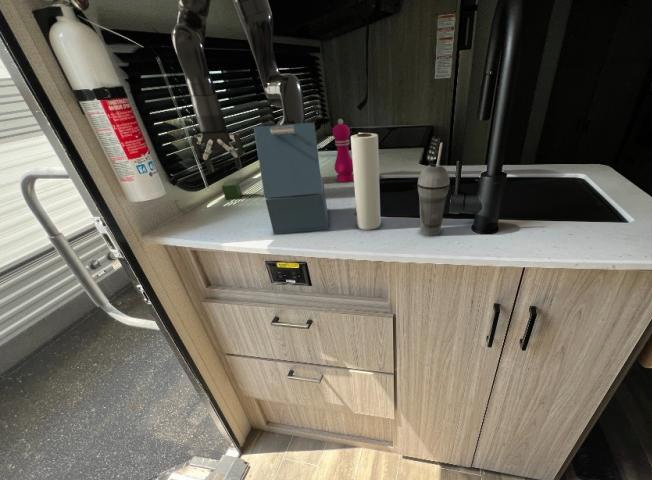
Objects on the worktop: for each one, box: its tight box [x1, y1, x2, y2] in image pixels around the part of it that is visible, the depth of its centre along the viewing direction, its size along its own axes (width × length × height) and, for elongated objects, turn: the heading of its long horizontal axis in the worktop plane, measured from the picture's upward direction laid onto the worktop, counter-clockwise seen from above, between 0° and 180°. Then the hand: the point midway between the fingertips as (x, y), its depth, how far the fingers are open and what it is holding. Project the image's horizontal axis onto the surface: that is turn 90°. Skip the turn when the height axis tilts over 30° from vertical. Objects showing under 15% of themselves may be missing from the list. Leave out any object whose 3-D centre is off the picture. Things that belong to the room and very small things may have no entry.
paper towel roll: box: [350, 132, 382, 231], centre depth 77 cm, size 7×6×21 cm
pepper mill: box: [332, 118, 354, 183], centre depth 113 cm, size 7×7×20 cm
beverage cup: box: [416, 142, 451, 237], centre depth 72 cm, size 7×7×20 cm
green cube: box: [221, 180, 243, 200], centre depth 108 cm, size 4×4×4 cm
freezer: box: [265, 178, 329, 235], centre depth 85 cm, size 15×14×9 cm
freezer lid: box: [253, 122, 323, 199], centre depth 73 cm, size 16×14×5 cm
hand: (225, 170), depth 104 cm, fingers open, 8 cm apart
